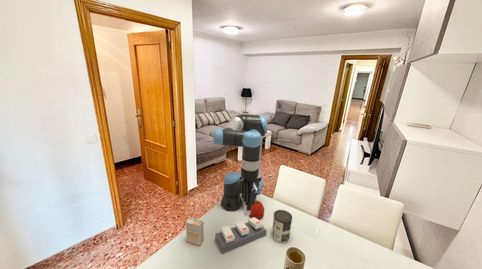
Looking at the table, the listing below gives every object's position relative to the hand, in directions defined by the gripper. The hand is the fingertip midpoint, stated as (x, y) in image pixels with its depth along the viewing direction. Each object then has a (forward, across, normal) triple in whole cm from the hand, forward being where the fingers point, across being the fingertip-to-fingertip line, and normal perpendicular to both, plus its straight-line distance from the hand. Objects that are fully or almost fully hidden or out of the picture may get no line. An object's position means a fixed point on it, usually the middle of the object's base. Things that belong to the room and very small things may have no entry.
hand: (246, 214), depth 88 cm
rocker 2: (+21, -13, +6) cm, 26 cm away
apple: (+27, -25, +24) cm, 44 cm away
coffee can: (+27, -4, +27) cm, 38 cm away
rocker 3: (+21, -13, +15) cm, 29 cm away
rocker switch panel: (+26, -13, +6) cm, 30 cm away
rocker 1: (+21, -13, -3) cm, 25 cm away
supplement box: (+27, -22, -18) cm, 39 cm away
